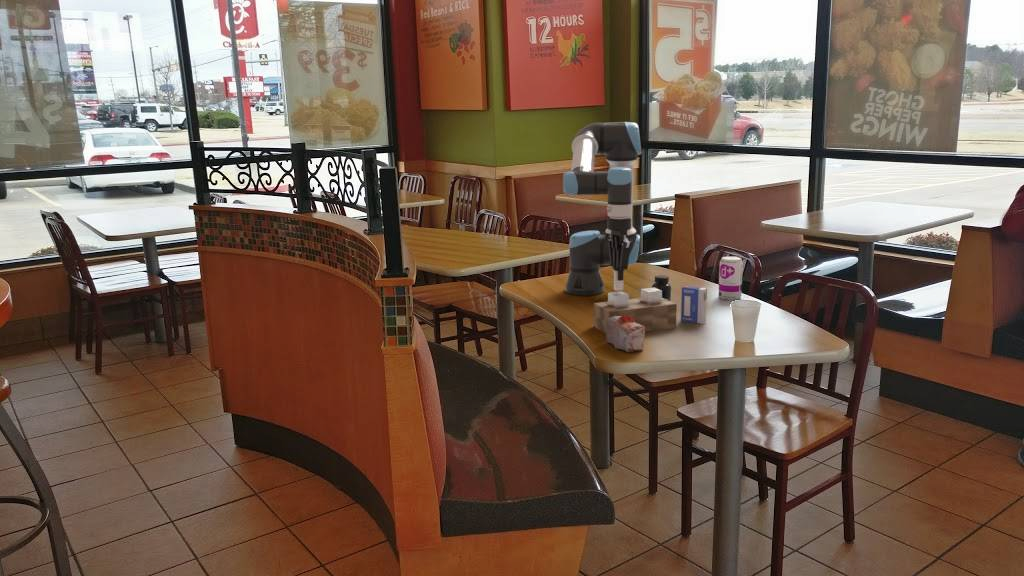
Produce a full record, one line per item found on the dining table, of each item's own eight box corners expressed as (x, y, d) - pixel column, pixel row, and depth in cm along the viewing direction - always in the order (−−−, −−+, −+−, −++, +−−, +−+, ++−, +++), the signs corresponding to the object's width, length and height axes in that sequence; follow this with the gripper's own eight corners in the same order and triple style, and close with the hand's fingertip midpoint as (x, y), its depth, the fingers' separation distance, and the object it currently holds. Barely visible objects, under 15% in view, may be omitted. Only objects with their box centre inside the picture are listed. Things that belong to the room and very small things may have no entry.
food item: (648, 351, 245) (649, 319, 242) (626, 355, 241) (626, 323, 239) (623, 339, 257) (623, 309, 254) (601, 343, 253) (601, 312, 251)
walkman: (680, 321, 276) (681, 286, 273) (683, 319, 278) (685, 284, 275) (703, 324, 271) (704, 289, 268) (706, 322, 273) (707, 287, 271)
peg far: (640, 309, 272) (640, 289, 270) (653, 307, 273) (654, 287, 272) (648, 313, 267) (648, 292, 266) (661, 311, 269) (661, 290, 267)
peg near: (607, 313, 268) (608, 292, 266) (621, 311, 270) (621, 291, 268) (614, 317, 263) (615, 296, 262) (628, 315, 265) (629, 294, 263)
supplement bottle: (670, 312, 286) (671, 278, 284) (650, 311, 288) (651, 278, 285) (670, 307, 293) (671, 274, 290) (651, 306, 294) (652, 274, 292)
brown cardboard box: (593, 326, 271) (593, 303, 269) (657, 318, 279) (658, 295, 277) (609, 336, 260) (610, 311, 258) (676, 327, 268) (676, 303, 266)
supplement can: (732, 301, 299) (734, 261, 296) (713, 297, 305) (715, 258, 302) (745, 297, 304) (747, 258, 301) (726, 293, 310) (728, 255, 307)
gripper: (599, 215, 264) (599, 286, 269) (618, 220, 252) (617, 295, 257) (620, 213, 266) (619, 284, 272) (639, 219, 254) (638, 292, 260)
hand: (618, 289), depth 264 cm, fingers closed
